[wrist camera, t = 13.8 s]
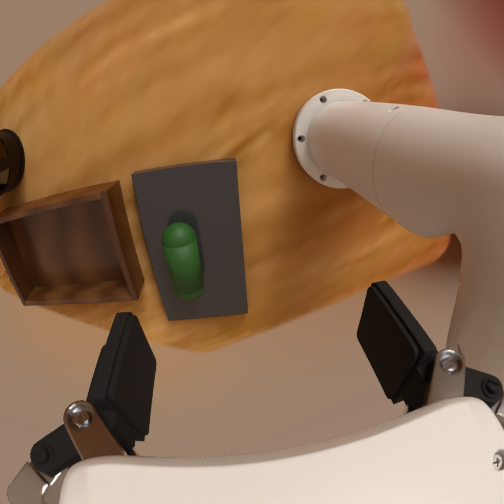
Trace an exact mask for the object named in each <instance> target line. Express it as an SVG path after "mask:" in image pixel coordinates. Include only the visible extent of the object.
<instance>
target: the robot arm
mask: <svg viewBox="0 0 504 504" xmlns="http://www.w3.org/2000/svg"><path fill="white" fill-rule="evenodd" d="M320 98H322V102H321V101H320ZM299 136H300V137H301V140H298V137H299ZM293 146H294V151H295V154H296V157H297V159H298V161H299V163H300V165H301V166H302V168H303V169H304V170H305V171H306V172H307V174H308V175H310V176H311V177H312V178H313V179H314V180H316V181H317V182H319V183H321V184H323V185H326V186H328V187H332V188H338V189H341V188H350V189H352V190H353V191H355V192H356V193H358V194H359V195H360V196H362V197H363V198H365V199H366V200H367V201H369V202H370V203H371V204H373V205H374V206H375V207H377V208H378V209H379V210H381V211H382V212H384V213H385V214H386V215H388V216H389V217H390V218H392V219H393V220H394V221H396V222H397V223H398V224H400V225H401V226H402V227H404V228H405V229H407V230H408V231H410V232H412V233H414V234H416V235H419V236H422V237H427V238H437V237H442V236H446V235H449V234H452V233H455V234H456V235H457V237H458V239H459V241H460V243H461V247H462V263H461V271H460V281H459V287H458V292H457V298H456V302H455V306H454V310H453V315H452V319H451V324H450V328H449V332H448V337H447V343H446V349H443V350H441V351H439V352H438V351H437V350H436V347H435V345H434V344H433V342H432V341H431V339H430V338H429V337H428V335H427V334H426V333H425V331H424V330H423V328H422V327H421V325H420V324H419V323H418V321H417V320H416V319H415V317H414V316H413V315H412V314H411V312H410V311H409V309H408V308H407V307H406V306H405V304H404V303H403V302H402V300H401V299H400V298H399V297H398V295H397V294H396V293H395V292H394V290H393V289H392V288H391V287H390V285H389V284H388V283H387V282H386V281H380V282H375V283H372V284H371V287H369V288H368V290H367V295H366V298H365V303H364V307H363V311H362V315H361V319H360V323H359V326H358V330H357V338H358V340H359V342H360V344H361V346H362V348H363V350H364V352H365V354H366V356H367V358H368V360H369V362H370V364H371V366H372V368H373V370H374V372H375V374H376V376H377V378H378V380H379V382H380V384H381V386H382V388H383V390H384V393H385V395H386V397H387V398H388V399H391V400H392V402H393V404H395V403H398V402H401V401H403V400H404V402H405V404H406V407H405V410H404V414H403V415H402V416H399V417H397V418H394V419H391V420H388V421H386V422H383V423H380V424H377V425H375V426H372V427H369V428H366V429H363V430H360V431H356V432H353V433H350V434H346V435H343V436H339V437H336V438H331V439H328V440H324V441H320V442H315V443H311V444H306V445H301V446H296V447H292V448H285V449H280V450H274V451H266V452H260V453H251V454H242V455H230V456H215V457H153V456H152V457H151V456H140V455H139V454H138V453H137V451H136V450H135V449H134V446H135V441H144V439H145V435H148V433H149V424H150V414H151V404H152V396H153V387H154V379H155V372H156V359H155V357H154V355H153V352H152V350H151V348H150V345H149V343H148V341H147V339H146V337H145V334H144V332H143V330H142V327H141V325H140V323H139V320H138V318H137V316H136V315H133V314H132V313H131V312H120V313H117V314H116V316H115V319H114V322H113V324H112V327H111V330H110V333H109V336H108V339H107V342H106V345H104V346H103V347H102V349H101V352H100V355H99V358H98V361H97V365H96V368H95V371H94V374H93V378H92V381H91V385H90V388H89V392H88V396H87V399H86V401H83V400H80V401H76V402H73V403H72V404H70V405H69V406H68V407H67V409H66V410H65V413H64V416H63V417H64V418H63V421H64V424H63V425H61V426H60V427H58V428H57V429H56V430H54V431H53V432H51V433H50V434H48V435H47V436H45V437H44V438H42V439H41V440H39V441H38V442H37V443H35V444H34V445H33V447H32V449H31V453H30V457H31V462H30V463H29V462H26V464H25V465H24V467H22V469H21V470H20V471H19V473H18V474H17V476H16V477H15V478H14V480H13V481H12V482H11V484H10V485H9V487H8V489H7V496H8V499H9V501H10V503H11V504H504V117H503V116H489V115H480V114H472V113H464V112H456V111H449V110H443V109H436V108H429V107H420V106H412V105H403V104H392V103H378V102H371V101H370V100H369V99H368V98H366V97H365V96H363V95H362V94H360V93H357V92H355V91H352V90H347V89H332V90H327V91H324V92H321V93H318V94H317V95H315V96H313V97H312V98H311V99H309V100H308V101H307V102H306V103H305V104H304V106H303V107H302V108H301V110H300V111H299V113H298V115H297V118H296V120H295V123H294V128H293ZM321 175H323V176H322V177H321V178H320V176H321Z"/></svg>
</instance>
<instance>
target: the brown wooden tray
mask: <svg viewBox="0 0 504 504" xmlns="http://www.w3.org/2000/svg"><path fill="white" fill-rule="evenodd" d="M0 256H1V259H2V261H3V264H4V266H5V268H6V271H7V273H8V275H9V277H10V279H11V281H12V283H13V286H14V288H15V290H16V292H17V294H18V296H19V297H20V299H21V301H22V303H23V305H25V306H28V305H60V304H82V303H100V302H116V301H131V300H138V298H139V295H140V292H141V289H142V286H143V283H144V277H143V274H142V271H141V267H140V264H139V261H138V257H137V254H136V250H135V246H134V242H133V239H132V235H131V231H130V227H129V223H128V219H127V214H126V210H125V206H124V201H123V196H122V192H121V187H120V182H119V180H117V181H112V182H107V183H102V184H98V185H93V186H89V187H84V188H80V189H76V190H72V191H68V192H64V193H60V194H56V195H52V196H49V197H45V198H41V199H38V200H34V201H31V202H28V203H24V204H21V205H18V206H15V207H12V208H9V209H6V210H4V211H2V212H1V213H0Z"/></svg>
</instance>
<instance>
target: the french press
mask: <svg viewBox="0 0 504 504" xmlns="http://www.w3.org/2000/svg"><path fill="white" fill-rule="evenodd" d="M0 140H1V141H2V143H3V144H4V146H5V148H6V151H7V154H8V155H6V156H4V157H1V158H0V172H2V171H4V170H6V169H8V168H9V177H8V181H7V184H1V183H0V196H1V195H2V194H4V193H5V192H9V191H12V190H13V189H14V188H15V187H16V186H17V185H18V184H19V182H20V180H21V178H22V175H23V171H24V164H25V157H24V150H23V146H22V143H21V141H20V139H19V137H18V136H17V135H16V133H14V132H13V131H11V130H9V129H2V130H0Z"/></svg>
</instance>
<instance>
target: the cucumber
mask: <svg viewBox="0 0 504 504" xmlns="http://www.w3.org/2000/svg"><path fill="white" fill-rule="evenodd" d="M162 245H163V249H164V253H165V258H166V262H167V266H168V270H169V274H170V278H171V282H172V286H173V289H174V292H175V294H176V295H177V296H178V297H179V298H180V299H182V300H185V301H193V300H195V299H197V298H199V297H200V296H201V294H202V293H203V290H204V279H203V274H202V268H201V262H200V256H199V251H198V245H197V238H196V234H195V232H194V230H193V229H192V227H191V226H189V225H188V224H186V223H182V222H176V223H173V224H171V225H169V226H168V227H167V228H166V229H165V231H164V233H163V235H162Z"/></svg>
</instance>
